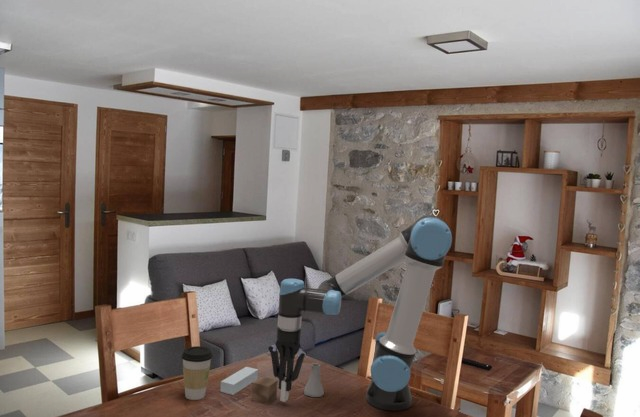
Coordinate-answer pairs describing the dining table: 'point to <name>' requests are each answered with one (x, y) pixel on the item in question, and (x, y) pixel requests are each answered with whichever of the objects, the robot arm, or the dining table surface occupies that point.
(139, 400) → the dining table surface
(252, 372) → the white rectangular block
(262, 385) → the walnut block
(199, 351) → the coffee cup
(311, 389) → the flask
